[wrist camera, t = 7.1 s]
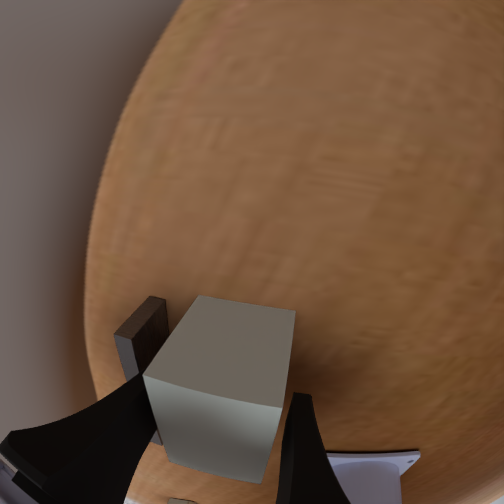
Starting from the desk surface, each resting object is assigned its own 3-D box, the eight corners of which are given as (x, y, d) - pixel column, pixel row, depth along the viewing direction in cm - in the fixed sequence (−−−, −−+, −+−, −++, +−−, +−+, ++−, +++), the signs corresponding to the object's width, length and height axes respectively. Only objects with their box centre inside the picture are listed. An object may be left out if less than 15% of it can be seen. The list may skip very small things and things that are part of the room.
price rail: (183, 409, 15) (165, 446, 12) (165, 404, 15) (146, 439, 13) (168, 300, 12) (135, 341, 9) (145, 295, 12) (109, 332, 10)
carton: (296, 309, 11) (282, 408, 7) (277, 402, 13) (260, 484, 9) (196, 292, 12) (138, 373, 7) (200, 387, 14) (166, 460, 10)
